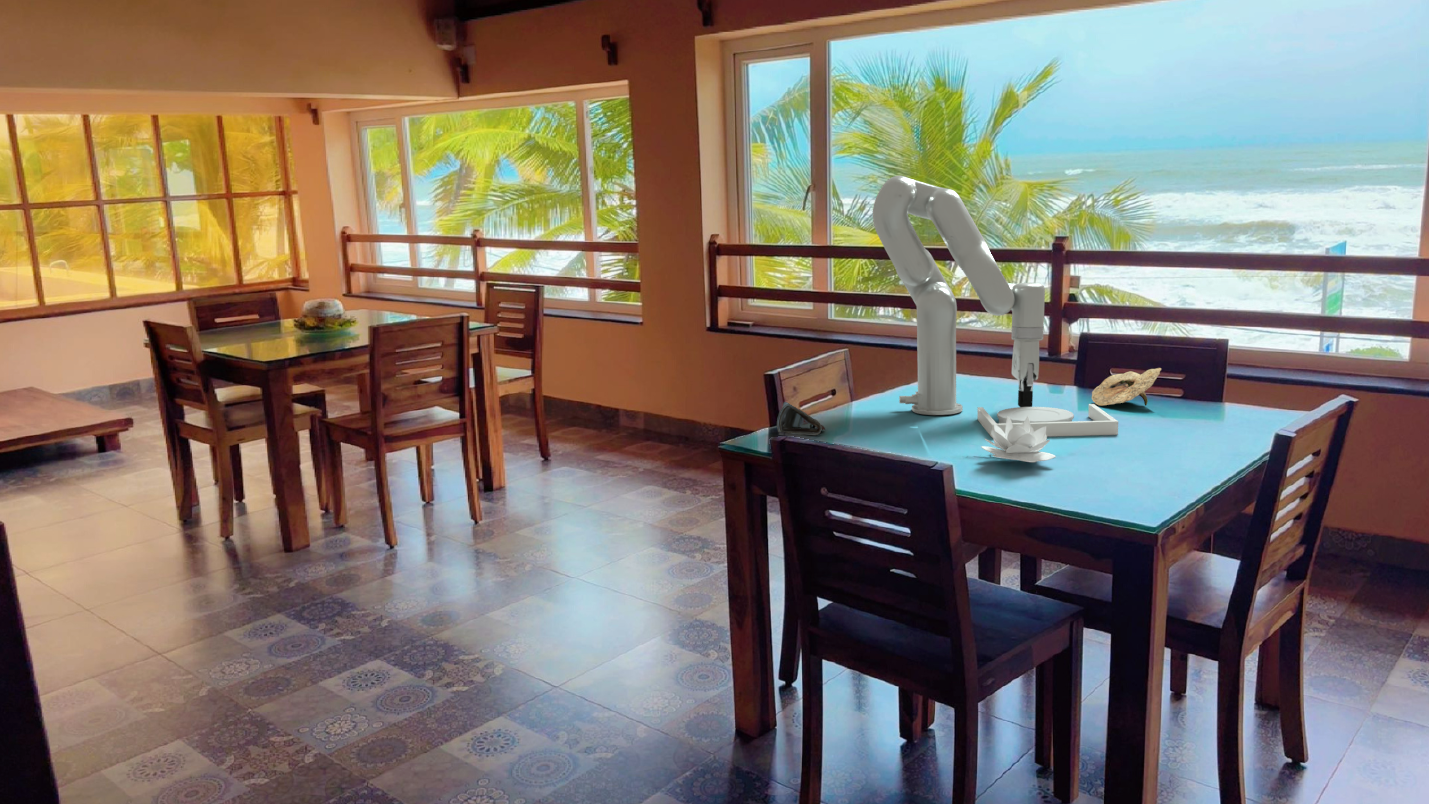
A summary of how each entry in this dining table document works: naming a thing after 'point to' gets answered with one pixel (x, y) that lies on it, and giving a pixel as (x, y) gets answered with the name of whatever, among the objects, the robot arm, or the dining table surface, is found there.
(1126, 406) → the dining table surface
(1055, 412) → the lid
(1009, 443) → the lotus flower
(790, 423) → the dark rounded triangle
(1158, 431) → the dining table surface
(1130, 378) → the beige piece
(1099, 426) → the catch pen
